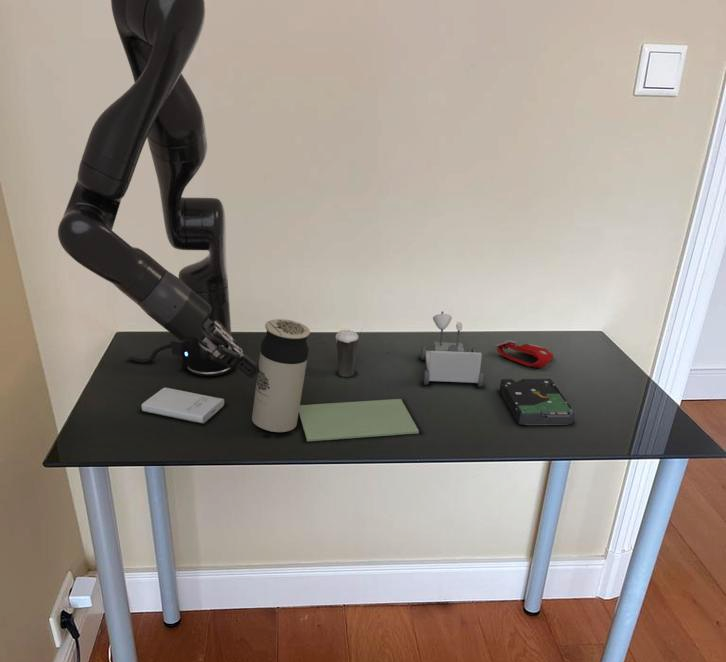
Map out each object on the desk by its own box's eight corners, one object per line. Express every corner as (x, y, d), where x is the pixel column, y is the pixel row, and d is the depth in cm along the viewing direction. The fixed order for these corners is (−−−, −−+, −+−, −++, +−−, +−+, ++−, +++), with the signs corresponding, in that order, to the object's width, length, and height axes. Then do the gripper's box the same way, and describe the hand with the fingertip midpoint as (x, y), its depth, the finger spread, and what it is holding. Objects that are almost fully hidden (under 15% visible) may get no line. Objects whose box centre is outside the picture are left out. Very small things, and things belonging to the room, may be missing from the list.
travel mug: (289, 412, 140) (303, 319, 131) (301, 433, 134) (317, 337, 125) (247, 412, 137) (258, 317, 128) (257, 434, 131) (270, 335, 121)
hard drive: (166, 394, 145) (224, 405, 142) (142, 412, 138) (202, 424, 135) (165, 386, 144) (224, 397, 141) (140, 404, 137) (202, 416, 134)
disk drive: (498, 391, 151) (519, 426, 138) (499, 378, 149) (521, 412, 137) (548, 390, 152) (574, 425, 140) (550, 377, 151) (576, 411, 138)
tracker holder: (544, 345, 169) (565, 352, 160) (538, 365, 170) (559, 373, 161) (494, 335, 165) (513, 341, 156) (489, 355, 167) (507, 362, 157)
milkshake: (358, 380, 153) (360, 332, 148) (332, 377, 154) (333, 330, 148) (363, 371, 157) (364, 324, 151) (337, 368, 158) (338, 322, 152)
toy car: (423, 308, 161) (478, 310, 161) (420, 351, 166) (473, 354, 166) (428, 340, 146) (488, 343, 146) (424, 387, 151) (482, 389, 151)
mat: (307, 441, 131) (307, 439, 131) (296, 407, 142) (296, 405, 142) (418, 433, 135) (419, 431, 135) (400, 401, 146) (400, 398, 145)
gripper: (190, 302, 114) (274, 373, 123) (189, 275, 125) (266, 342, 134) (157, 337, 116) (243, 405, 125) (159, 308, 127) (238, 371, 136)
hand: (255, 372), depth 129 cm, fingers closed
